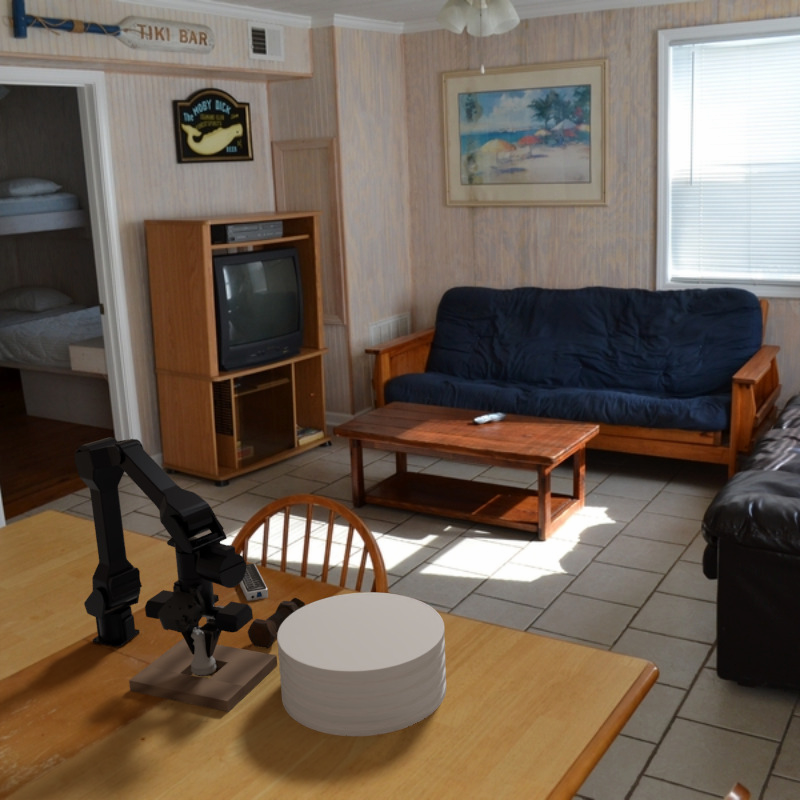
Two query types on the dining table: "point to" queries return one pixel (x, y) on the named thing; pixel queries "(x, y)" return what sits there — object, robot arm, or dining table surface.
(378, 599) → the plate stack
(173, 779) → the dining table surface
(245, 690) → the socket board
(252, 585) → the multiport hub
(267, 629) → the bolt
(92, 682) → the dining table surface
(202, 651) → the rook chess piece
